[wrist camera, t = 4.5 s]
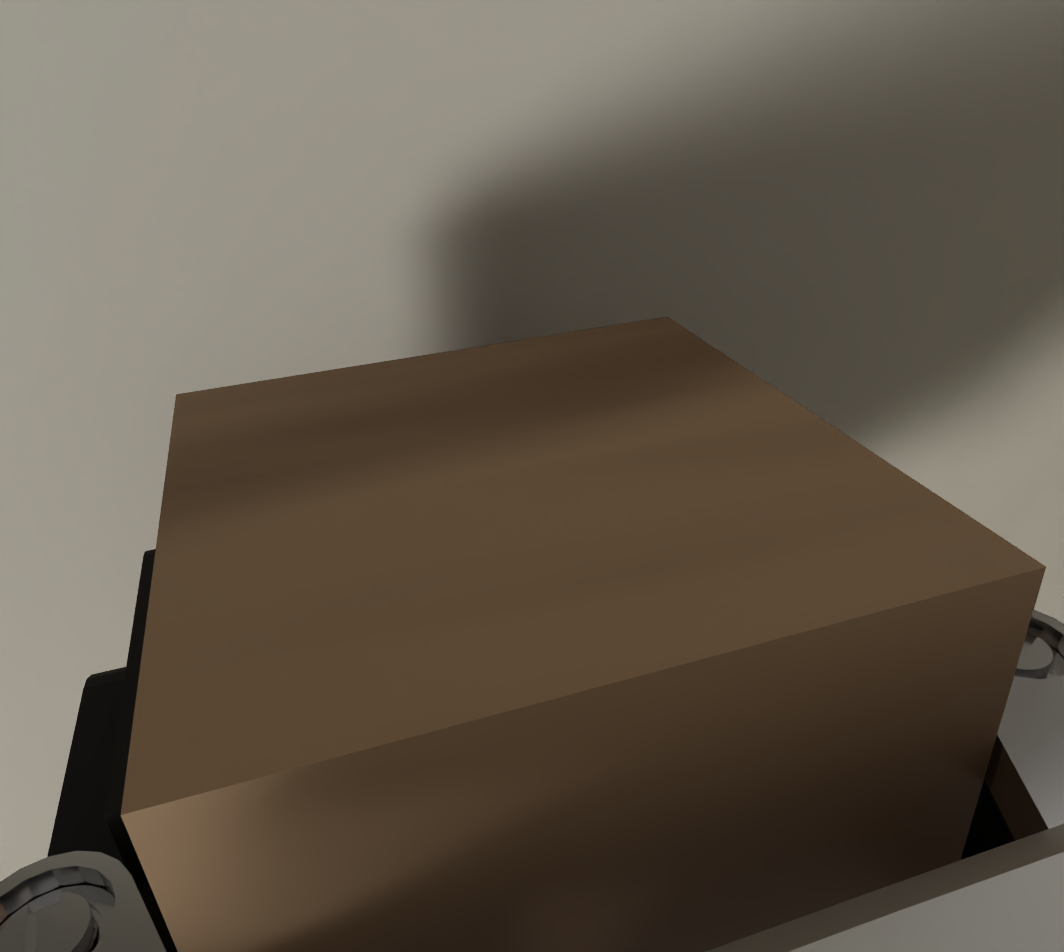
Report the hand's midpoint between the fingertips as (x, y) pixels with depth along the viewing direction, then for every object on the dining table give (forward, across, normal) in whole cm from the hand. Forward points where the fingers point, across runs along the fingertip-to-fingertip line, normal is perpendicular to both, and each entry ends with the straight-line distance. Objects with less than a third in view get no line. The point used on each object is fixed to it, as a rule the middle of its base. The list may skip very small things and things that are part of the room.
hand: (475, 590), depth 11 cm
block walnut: (+1, 0, 0) cm, 1 cm away
